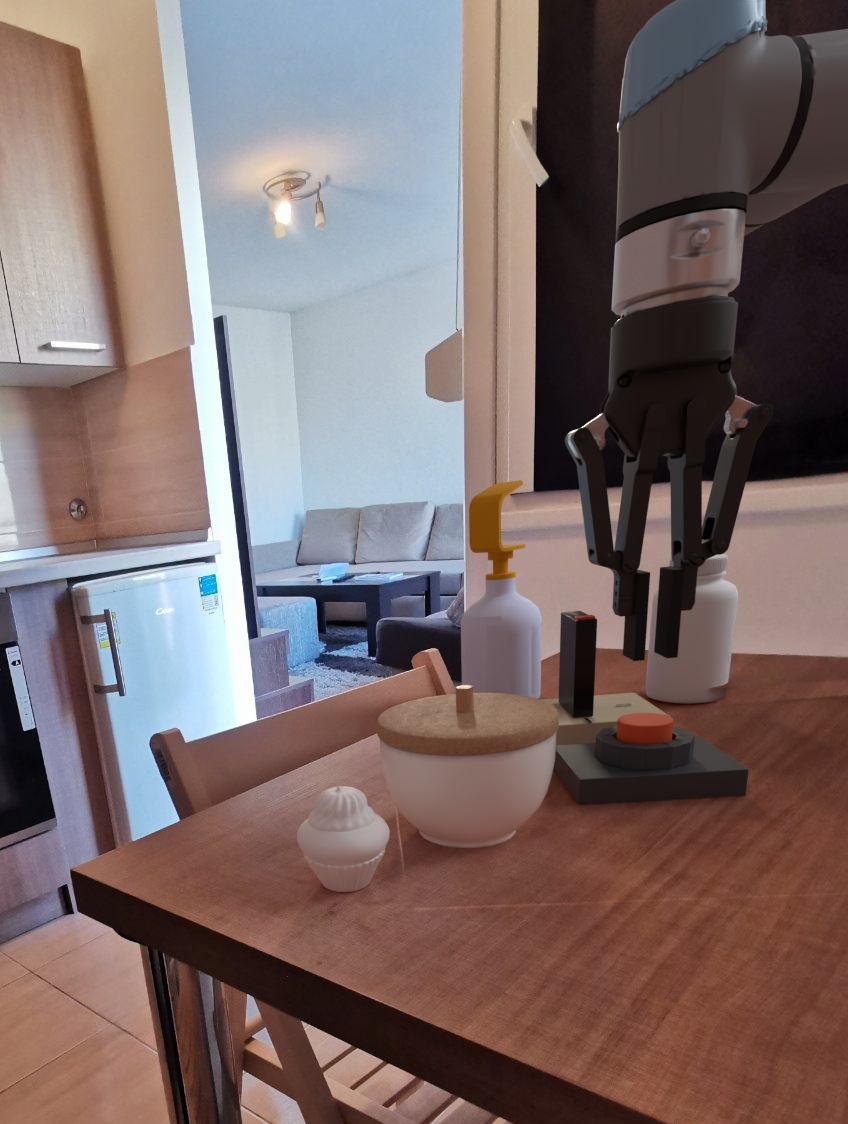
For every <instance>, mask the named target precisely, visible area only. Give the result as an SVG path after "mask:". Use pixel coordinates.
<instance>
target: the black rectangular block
mask: <svg viewBox="0 0 848 1124" xmlns="http://www.w3.org/2000/svg"><path fill="white" fill-rule="evenodd" d="M559 632H560V634H559V636H560V637H559V665H558V666H559V672H558V698H559V703H560V704H561V705H562V706H563V707H564V708H565V710H566V711H567V712H568V713H569V714H570V715H571V716H572V717H588V716H593V707H594V695H595V683H596V682H595V681H596V657H597V637H598V636H597V635H598V618H596V615H594V614H588V613H585V612H584V611H582V610H573V611H563V612H561V613H560V631H559Z"/></svg>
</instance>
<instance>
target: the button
mask: <svg viewBox="0 0 848 1124" xmlns="http://www.w3.org/2000/svg"><path fill="white" fill-rule="evenodd" d="M667 715H668V714H667ZM667 715H663V714H657V713H633V714H627V715H623V716H621V717H619V718H618V720H617V738H616V739H617V740H620V741H623V742H627V743H638V744H653V743H664V742H668V741H672V734H673V727H674V723H675V721H674V718H673V717H672V716H670V715H669V716H667Z"/></svg>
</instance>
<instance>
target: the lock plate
mask: <svg viewBox="0 0 848 1124" xmlns="http://www.w3.org/2000/svg"><path fill="white" fill-rule="evenodd" d="M542 700H543V701H546V702H548V703H550V704H552V705H553V706H554V707H555V708H556V709H557V710H558V713H559V726H558V730H557V732H556V746H559V745H574V744H589V743H596V735H597V734H598V733H599V732H600V731H601V730H602V729H605V728H609V727H613V726H617V720H618V718H619V717H621V716H623V715H627V714H633V713H657V714H663V715H667V716H670V715H669V714H668V713H665V712H664V711H663V710H662V709H660V708H658V707H657V706H655V705H654V704H652V703H651V702H649V701H648V700H647V699H645V698H644V697H643V696H640V695H639V694H637V693H636V692H621V693H610V694H609V693H608V694H597V695H595V694H594V707H593V716H588V717H572V716H571V715H570V714H569V713H568V712H567V711H566V710H565V708H564V707H563V706H562V705H561V704H560V703H559V697H557V698H544V699H542Z"/></svg>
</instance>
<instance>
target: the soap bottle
mask: <svg viewBox="0 0 848 1124" xmlns="http://www.w3.org/2000/svg"><path fill="white" fill-rule="evenodd" d="M523 485H524V482H523V480H522V479H521V480H520V479H519V480H512V481H505V482H498V483H494V484H492V485H490V486H489V487H486V488H485V489H484V490H482V491H481V492H479V493H477V494H476V495H474V496H473V498H472V499H471V500H470V503H469V507H468V529H469V534H468V535H469V536H468V537H469V540H468V541H469V547H470V551H471V552H472V553H474V554H482V553H483V554H485V553H487V561H492V572H490V573H486V574H485V593H484V595H483V596H482V597H480V599H478V600H476V601H475V602H474V603H472V604H471V605H470V606H468V608H467V609H466V610H465V611H464V612H463V614H462V617H461V621H460V652H461V653H460V656H461V658H460V660H461V685H472V686H473V693H504V694H515V695H522V696H528V697H532V698H536V699H540V697H541V690H542V689H541V687H542V686H541V684H542V636H543V635H542V634H543V633H542V632H543V630H542V629H543V628H542V627H543V623H542V622H543V617H542V614H541V610H540V609H539V606H537V605H536V604H535V603H534V602H533V601H532V600H531V599H528V598H526V597H524V596H522V595H521V594H520V593H518V592H517V587H516V585H517V584H516V580H517V579H516V571H509V560H511V559H513V558H514V551H517V550H521V549H522V550H523V549H526V544H525V543H521V544H519V543H518V544H503V542H502V504H503V502H504V499H505V498H506V497H507V496H508V495H510V494H511V493H513V492H514V491H516V490H517V489H519V488H520V487H522V486H523Z"/></svg>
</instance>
